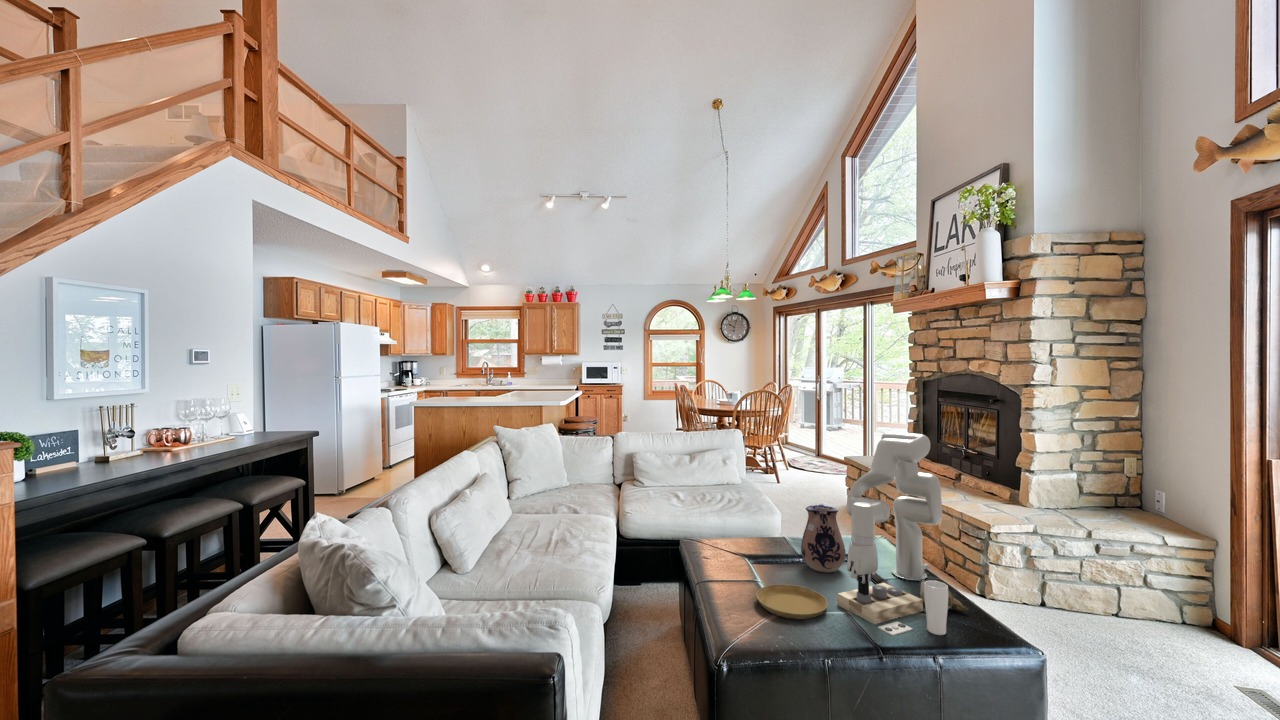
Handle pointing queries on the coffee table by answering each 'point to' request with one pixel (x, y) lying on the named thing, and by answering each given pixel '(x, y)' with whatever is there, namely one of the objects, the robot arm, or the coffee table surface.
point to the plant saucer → (792, 601)
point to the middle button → (879, 592)
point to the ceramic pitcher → (822, 540)
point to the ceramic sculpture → (951, 601)
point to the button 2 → (894, 591)
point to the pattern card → (895, 628)
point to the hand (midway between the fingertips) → (863, 593)
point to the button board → (881, 605)
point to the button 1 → (863, 598)
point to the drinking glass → (936, 606)
